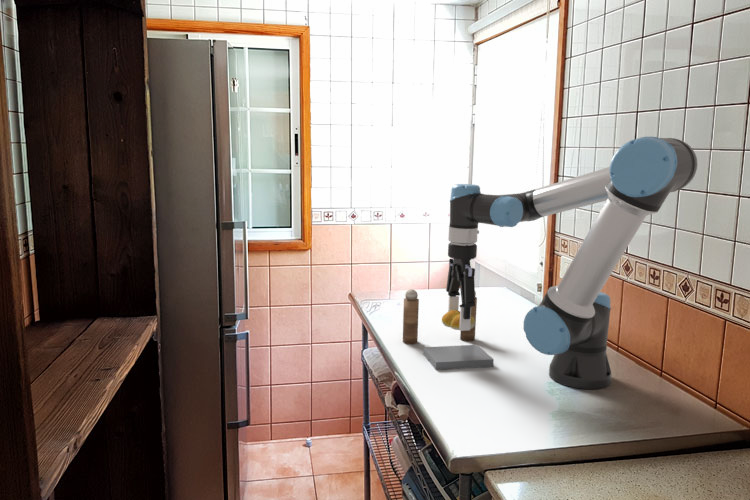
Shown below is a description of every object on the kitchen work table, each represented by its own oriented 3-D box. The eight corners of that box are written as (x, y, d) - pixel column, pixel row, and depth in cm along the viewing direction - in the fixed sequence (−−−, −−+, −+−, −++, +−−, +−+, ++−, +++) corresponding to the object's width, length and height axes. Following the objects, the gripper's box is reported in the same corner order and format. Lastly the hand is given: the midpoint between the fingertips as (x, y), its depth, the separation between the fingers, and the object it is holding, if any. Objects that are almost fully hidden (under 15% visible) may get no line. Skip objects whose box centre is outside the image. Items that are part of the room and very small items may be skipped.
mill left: (419, 343, 183) (420, 291, 180) (404, 344, 182) (406, 291, 179) (415, 339, 187) (416, 287, 184) (401, 339, 186) (402, 287, 183)
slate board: (493, 366, 166) (493, 359, 165) (435, 369, 162) (435, 362, 162) (477, 351, 177) (477, 344, 177) (423, 354, 174) (423, 347, 174)
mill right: (476, 341, 186) (479, 289, 183) (463, 341, 185) (465, 289, 182) (471, 336, 190) (474, 285, 188) (458, 337, 190) (460, 286, 187)
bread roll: (461, 333, 162) (462, 318, 161) (436, 324, 169) (437, 310, 168) (481, 327, 167) (482, 312, 167) (456, 319, 174) (457, 305, 173)
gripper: (491, 250, 154) (486, 336, 158) (462, 236, 175) (458, 312, 179) (462, 250, 153) (458, 338, 157) (437, 236, 174) (433, 313, 178)
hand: (458, 324), depth 168 cm, fingers closed on bread roll, 9 cm apart
